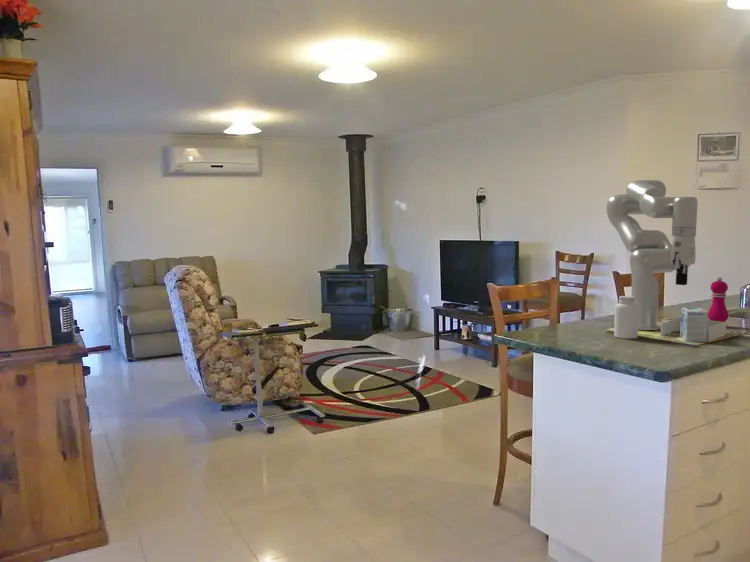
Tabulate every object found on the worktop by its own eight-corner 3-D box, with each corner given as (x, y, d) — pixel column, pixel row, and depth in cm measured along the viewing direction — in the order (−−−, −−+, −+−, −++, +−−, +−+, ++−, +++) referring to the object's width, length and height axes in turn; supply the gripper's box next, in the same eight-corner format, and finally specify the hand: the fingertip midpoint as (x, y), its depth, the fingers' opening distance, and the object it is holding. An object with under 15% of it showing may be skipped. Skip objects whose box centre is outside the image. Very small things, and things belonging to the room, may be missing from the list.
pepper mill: (703, 325, 234) (705, 276, 232) (714, 324, 237) (716, 276, 235) (720, 328, 227) (722, 278, 226) (732, 327, 230) (734, 277, 229)
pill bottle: (635, 335, 213) (636, 295, 212) (639, 339, 206) (640, 298, 204) (612, 335, 216) (613, 295, 214) (615, 338, 208) (616, 297, 207)
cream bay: (709, 341, 201) (710, 327, 201) (660, 335, 213) (660, 322, 213) (725, 335, 212) (726, 322, 212) (678, 330, 225) (678, 317, 224)
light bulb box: (679, 336, 212) (680, 307, 212) (699, 336, 210) (701, 307, 210) (686, 341, 202) (687, 310, 201) (707, 342, 200) (708, 311, 199)
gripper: (687, 233, 194) (684, 287, 196) (703, 232, 204) (700, 283, 206) (663, 232, 199) (661, 285, 201) (680, 232, 209) (678, 282, 211)
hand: (681, 284), depth 203 cm, fingers closed
